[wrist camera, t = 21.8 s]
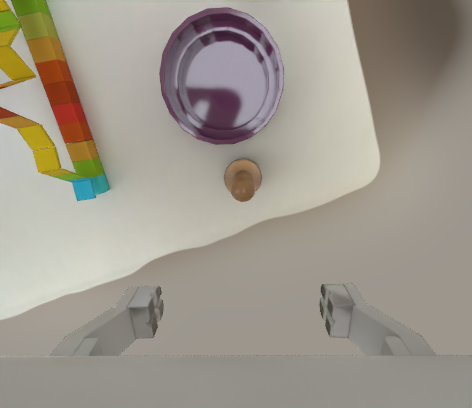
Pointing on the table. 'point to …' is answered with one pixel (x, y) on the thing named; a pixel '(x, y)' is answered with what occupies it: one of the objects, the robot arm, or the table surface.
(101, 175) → the chart
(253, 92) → the bowl
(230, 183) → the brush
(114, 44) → the table surface
